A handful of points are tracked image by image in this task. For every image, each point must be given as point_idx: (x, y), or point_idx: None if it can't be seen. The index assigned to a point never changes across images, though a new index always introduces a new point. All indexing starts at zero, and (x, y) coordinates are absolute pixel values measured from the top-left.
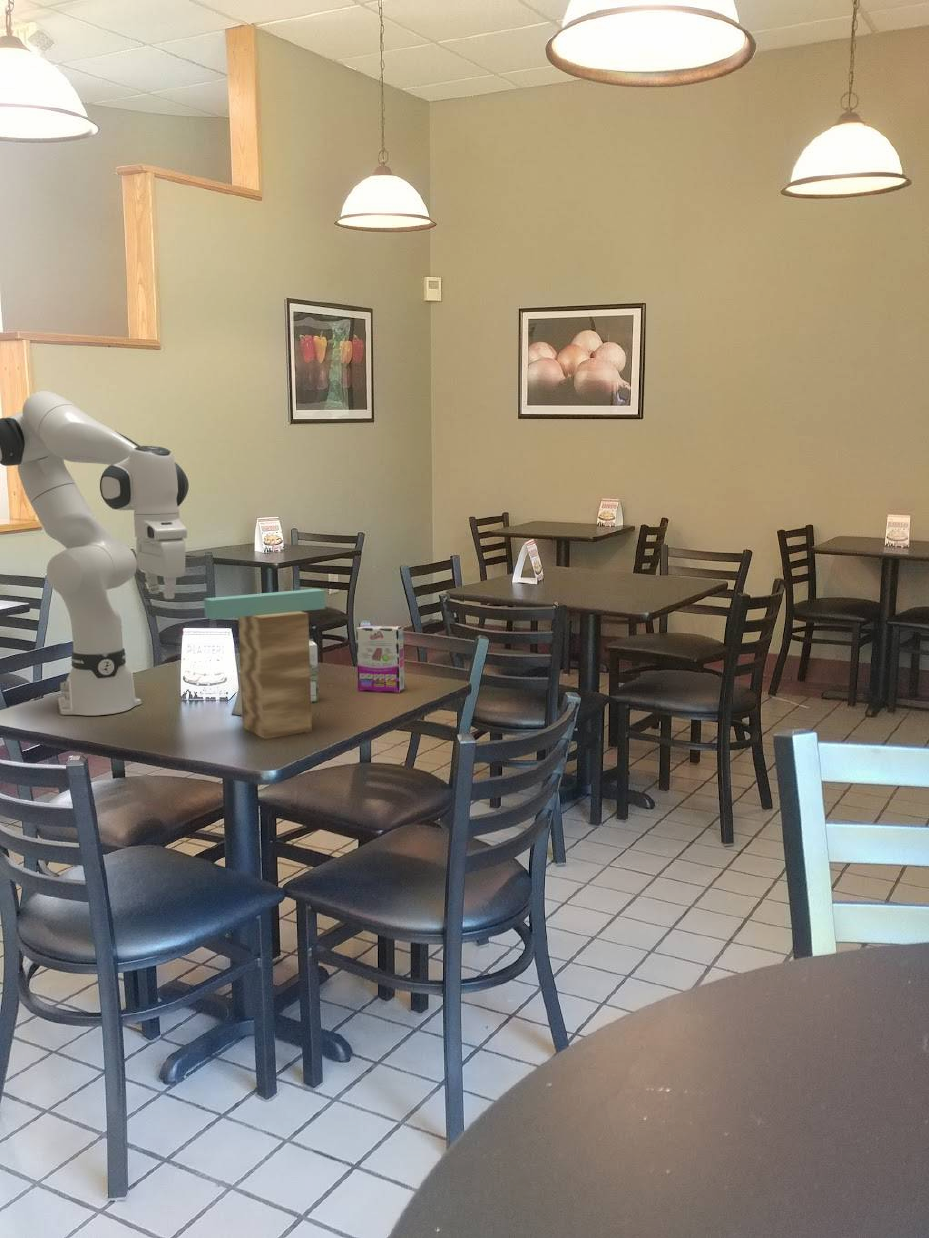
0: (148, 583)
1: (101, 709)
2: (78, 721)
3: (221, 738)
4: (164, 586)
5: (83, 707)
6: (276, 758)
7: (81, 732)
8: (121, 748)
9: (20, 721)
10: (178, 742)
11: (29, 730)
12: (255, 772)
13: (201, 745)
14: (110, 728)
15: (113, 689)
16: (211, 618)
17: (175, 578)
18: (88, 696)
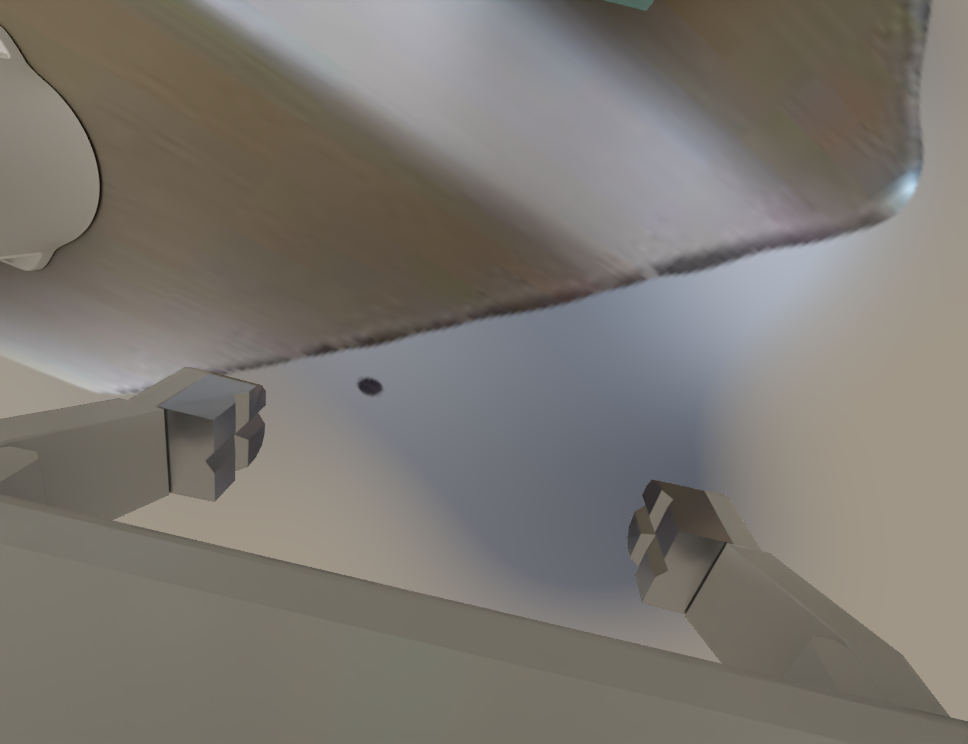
0: (137, 502)
1: (81, 199)
2: (127, 271)
3: (543, 86)
4: (723, 663)
5: (55, 236)
6: (841, 99)
7: (239, 318)
8: (434, 327)
9: (60, 361)
10: (487, 202)
11: None
12: (873, 224)
13: (559, 175)
14: (242, 251)
15: (16, 154)
16: (640, 5)
17: (931, 708)
18: (27, 226)
